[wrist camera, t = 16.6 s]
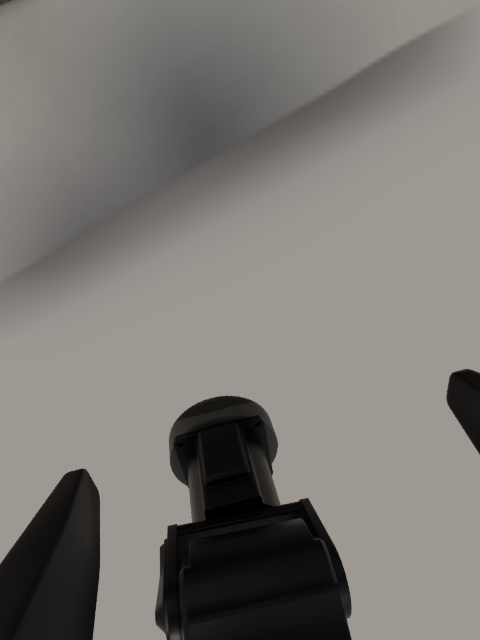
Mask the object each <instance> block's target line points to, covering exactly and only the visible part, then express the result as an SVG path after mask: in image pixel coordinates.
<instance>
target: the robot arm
mask: <svg viewBox="0 0 480 640" xmlns="http://www.w3.org/2000/svg"><path fill="white" fill-rule="evenodd" d="M447 403H448V405H449V407H450V409H451V410H452V412H453V414H454V415H455V417H456V418H457V420H458V421H459V423H460V424H461V426H462V428H463V429H464V431H465V432H466V434H467V435H468V437H469V438H470V440H471V441H472V443H473V445H474V446H475V448H476V449H477V451H478V452H479V454H480V373H478V372H476V371H473V370H470V369H464V370H460V371H457V372H453V373H452V374H451V375H450V378H449V384H448V390H447ZM255 422H257V423H255ZM179 442H181V443H179ZM173 446H174V449H175V452H176V454H177V457H178V460H179V463H180V466H181V468H182V471H183V474H184V477H185V479H186V482H187V485H188V488H189V492H190V502H191V514H192V523H188V524H183V525H178V526H177V524H175V525H171V526H168V534H167V539H165V540H164V544H163V545H162V546H161V547H160V581H159V588H158V595H157V603H156V610H155V620H156V625H157V626H158V627H159V628H160V629H161V630H162V631H163V632H164V633H165V634H166V637H167V640H351V636H350V631H349V627H348V624H347V618H349V617H350V616H351V598H350V592H349V586H348V582H347V579H346V575H345V571H344V568H343V565H342V562H341V559H340V557H339V554H338V552H337V550H336V548H335V546H334V544H333V542H332V540H331V539H330V537H329V535H328V534H327V532H326V529H325V528H324V526H323V524H322V522H321V521H320V519H319V517H318V515H317V513H316V512H315V510H314V508H313V506H312V504H311V503H310V501H309V499H308V498H306V499H301V500H299V502H294V503H289V504H284V505H280V501H279V498H278V495H277V492H276V488H275V485H274V482H273V479H272V474H273V470H272V465H271V459H270V453H269V447H268V441H267V435H266V430H265V424H264V420H263V418H262V416H260V415H254V416H250V417H247V418H243V419H239V420H235V421H231V422H227V423H223V424H219V425H216V426H212V427H208V428H204V429H200V430H196V431H192V432H188V433H184V434H181V435H177V436H176V437H174V439H173ZM99 571H100V497H99V492H98V489H97V487H96V486H95V484H94V482H93V480H92V478H91V477H90V475H89V473H88V472H87V470H86V469H79V470H75V471H71V472H68V473H66V474H65V475H64V476H63V478H62V479H61V480H60V482H59V483H58V485H57V486H56V487H55V489H54V490H53V492H52V493H51V494H50V496H49V497H48V499H47V500H46V501H45V503H44V504H43V505H42V507H41V508H40V510H39V511H38V512H37V514H36V515H35V517H34V518H33V519H32V521H31V522H30V524H29V525H28V526H27V528H26V529H25V531H24V532H23V533H22V535H21V536H20V537H19V539H18V540H17V542H16V543H15V544H14V546H13V547H12V549H11V550H10V551H9V553H8V554H7V556H6V557H5V558H4V560H3V561H2V562H1V564H0V640H92V639H93V629H94V620H95V611H96V601H97V592H98V583H99Z"/></svg>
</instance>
